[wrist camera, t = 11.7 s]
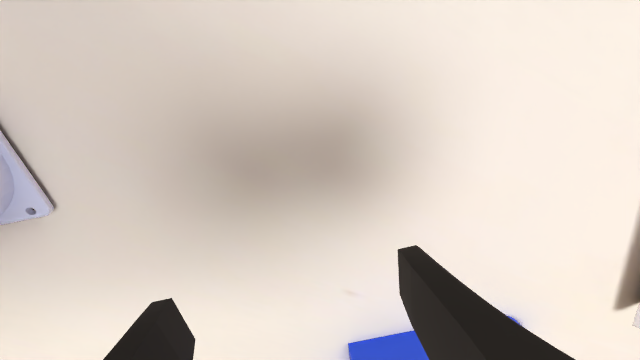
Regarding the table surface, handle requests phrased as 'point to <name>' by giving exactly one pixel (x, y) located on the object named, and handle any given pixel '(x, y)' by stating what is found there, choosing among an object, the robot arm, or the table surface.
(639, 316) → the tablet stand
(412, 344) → the bracket
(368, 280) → the table surface
